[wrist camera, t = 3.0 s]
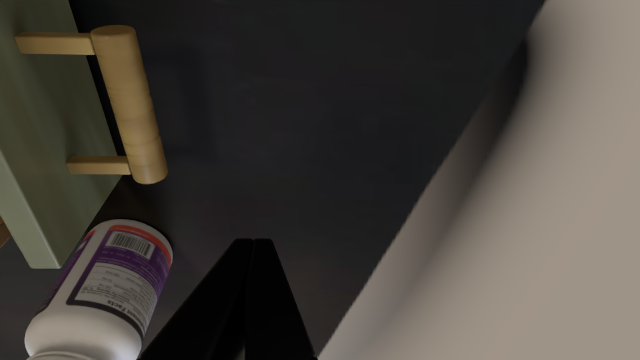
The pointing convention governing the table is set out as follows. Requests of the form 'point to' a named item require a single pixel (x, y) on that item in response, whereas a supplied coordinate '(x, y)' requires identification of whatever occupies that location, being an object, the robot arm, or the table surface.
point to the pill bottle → (103, 296)
